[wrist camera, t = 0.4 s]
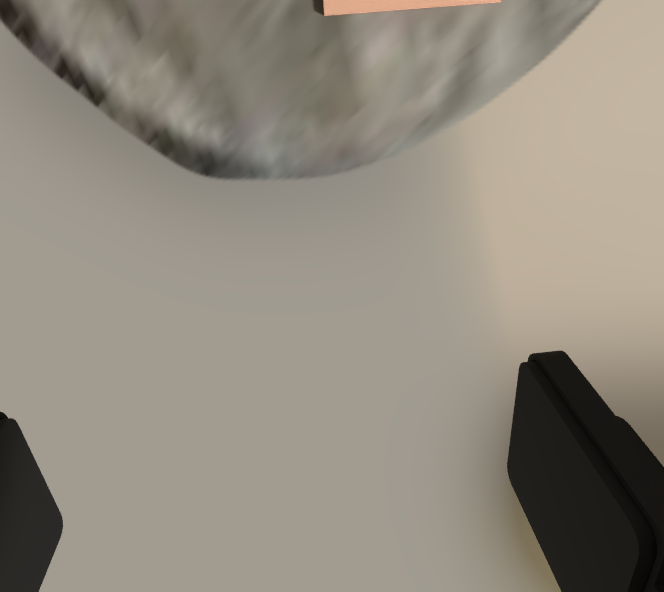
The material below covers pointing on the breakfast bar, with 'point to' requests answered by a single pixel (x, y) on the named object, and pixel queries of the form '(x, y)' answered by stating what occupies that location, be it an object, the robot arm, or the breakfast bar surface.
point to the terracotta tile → (389, 5)
